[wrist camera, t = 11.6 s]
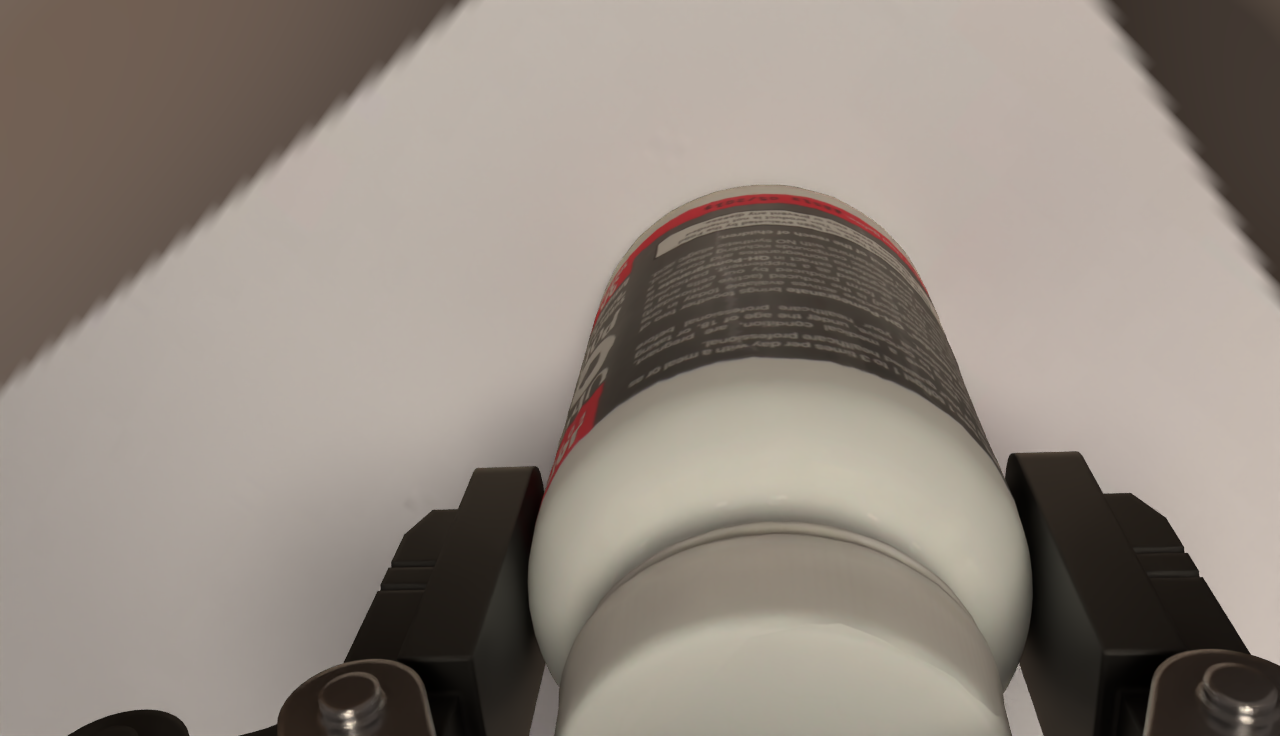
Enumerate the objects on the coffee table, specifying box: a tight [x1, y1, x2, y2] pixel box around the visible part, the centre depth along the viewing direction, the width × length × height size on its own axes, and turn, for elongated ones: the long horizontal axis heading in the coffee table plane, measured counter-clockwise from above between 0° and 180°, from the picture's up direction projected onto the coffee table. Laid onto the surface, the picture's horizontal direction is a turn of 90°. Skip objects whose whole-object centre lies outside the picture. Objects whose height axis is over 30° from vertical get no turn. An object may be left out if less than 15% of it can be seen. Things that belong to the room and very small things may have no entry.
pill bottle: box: [528, 185, 1033, 736], centre depth 14 cm, size 5×5×10 cm
